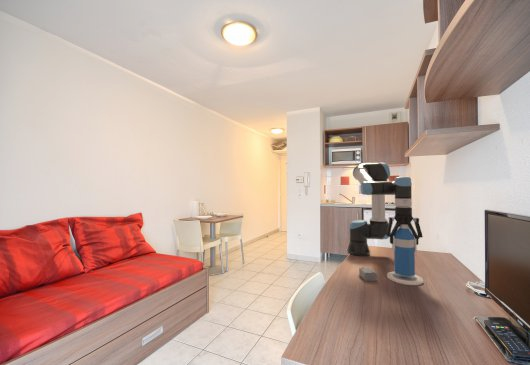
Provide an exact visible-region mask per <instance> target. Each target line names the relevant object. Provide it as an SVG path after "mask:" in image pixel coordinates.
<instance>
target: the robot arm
mask: <svg viewBox="0 0 530 365" xmlns="http://www.w3.org/2000/svg"><path fill="white" fill-rule="evenodd" d="M352 176H353V178H354V179H355V180H356V181H358V183H359V184H360V188H359V189H360V194H362V195H367V196H371V218H369V222H368V221H367V220H366V219H359V220H358V219H357V220H352V221H351V222H350V223H349V242H348V246H347V250H346V251H347V254H349V255H352V256H357V257H359V256H360V257H366V256H370V255H371V250H370V248H369V245H368V240H388V239H389V243H390V244H391V250H392V251H393V252H394V251H395V238H394V235H395V233H396V231H397V230H398V228H399V226H400V225H401V224H405V225H408V229H409V230H410V231H411V233H412V234H413V235H414V253H415V252H416V253H417V250H418V249H417V247H418V245H419V239H420V238H423V237H424V236H423V234H422V230H421V226H420V218H419V217H413V210H412V209H413V208H412V204H413V202H412V200H413V198H412V196H413V195H412V178H411V177H410V176H397V177H394V180H393V181H388V180H389V179H390V178H391V170H390V166H389V165H388V164H387V163H386V162H364V163H360V164H358V165H356V166H355V167H354V168H353V169H352ZM390 195H391V196H393V195H394V206H395V207H394V213H395V214H394V216H392V217H391V216H389V217H388V219H387V218H386V196H390ZM394 221H395V224H394V223H393V222H394ZM412 221H413V222H414V225H415V229H416V230H415V229H414V227H413V224H412V223H411V222H412ZM393 224H394V226H393ZM392 227H393V228H392Z"/></svg>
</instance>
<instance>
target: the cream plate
mask: <svg viewBox="0 0 530 365" xmlns="http://www.w3.org/2000/svg"><path fill="white" fill-rule="evenodd" d="M386 278H388V280H390V281H392V282H393V283H397V284H400V285H405V286H420V285H421V286H422V285H423V283H424V278H423V277H422V276H419V275H417V274H415V276H402V275H399V274H396V273H395V270H394V271H389V272H387V273H386Z"/></svg>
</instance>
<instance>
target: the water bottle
mask: <svg viewBox="0 0 530 365" xmlns="http://www.w3.org/2000/svg"><path fill="white" fill-rule="evenodd" d="M394 238H395V251H393V252H394V254H393V255H394V256H393V257H394V259H393V260H394V271H395V273H396V274H399V275H402V276H415V275H416V270H415V269H416V268H415V267H416V266H415V264H416V262H415V261H416V259H415V256H416V255H415V251H414V238H415V237H414V235H413V234H412V232H411V230H410V229H409V227H408V225H405V224H401V225H400V226H399V228H398V229H397V231H396V233H395V235H394Z"/></svg>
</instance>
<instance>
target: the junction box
mask: <svg viewBox="0 0 530 365" xmlns="http://www.w3.org/2000/svg"><path fill="white" fill-rule="evenodd" d="M358 275H359V276H360V277H361V279H363V281H365V282H377V281H378V273H377V272H376V271H375V270H374V269H373V268H371V267H362V266H361V267H359V272H358Z"/></svg>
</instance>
